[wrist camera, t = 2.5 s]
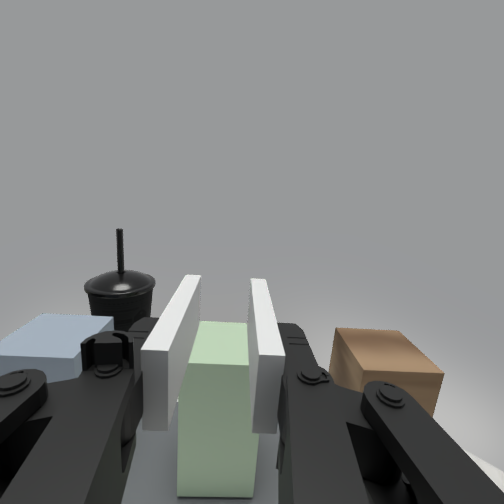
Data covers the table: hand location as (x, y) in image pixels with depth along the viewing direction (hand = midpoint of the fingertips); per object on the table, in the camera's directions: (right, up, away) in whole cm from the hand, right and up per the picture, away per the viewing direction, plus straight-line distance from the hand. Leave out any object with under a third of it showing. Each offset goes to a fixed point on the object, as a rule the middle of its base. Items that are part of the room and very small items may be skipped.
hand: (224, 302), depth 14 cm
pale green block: (-2, -16, +11) cm, 19 cm away
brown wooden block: (+11, -17, +11) cm, 23 cm away
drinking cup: (-15, -14, +22) cm, 30 cm away
